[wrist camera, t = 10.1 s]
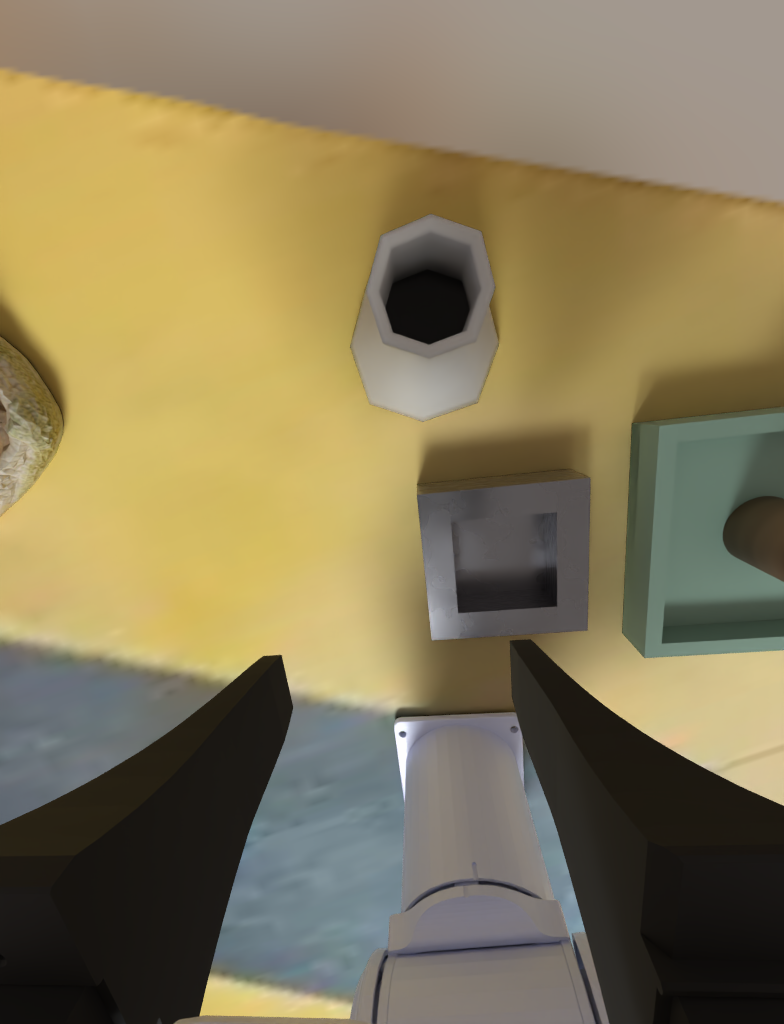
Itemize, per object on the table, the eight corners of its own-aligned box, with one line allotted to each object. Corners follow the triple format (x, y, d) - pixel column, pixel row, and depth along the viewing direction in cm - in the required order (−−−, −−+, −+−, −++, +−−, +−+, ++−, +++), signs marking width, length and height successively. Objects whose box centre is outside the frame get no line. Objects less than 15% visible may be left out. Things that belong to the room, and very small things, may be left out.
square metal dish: (569, 605, 22) (587, 630, 20) (430, 615, 23) (431, 640, 21) (570, 469, 20) (590, 477, 18) (416, 484, 21) (417, 494, 19)
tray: (848, 619, 22) (898, 643, 19) (622, 633, 23) (644, 658, 20) (898, 394, 18) (964, 392, 16) (632, 423, 19) (659, 425, 17)
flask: (502, 260, 18) (601, 95, 8) (493, 420, 20) (565, 436, 10) (347, 265, 18) (272, 115, 9) (353, 422, 20) (297, 438, 11)
